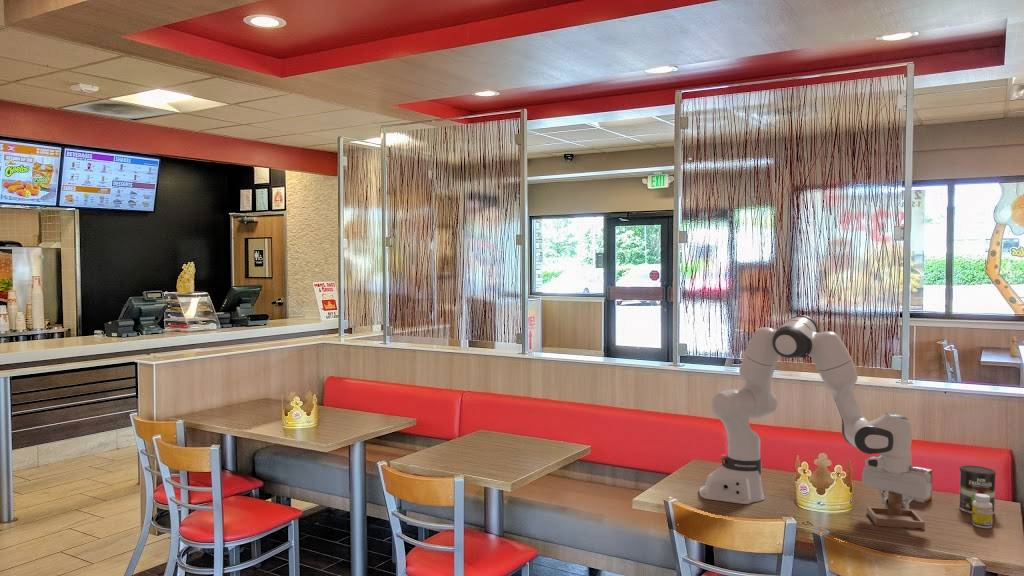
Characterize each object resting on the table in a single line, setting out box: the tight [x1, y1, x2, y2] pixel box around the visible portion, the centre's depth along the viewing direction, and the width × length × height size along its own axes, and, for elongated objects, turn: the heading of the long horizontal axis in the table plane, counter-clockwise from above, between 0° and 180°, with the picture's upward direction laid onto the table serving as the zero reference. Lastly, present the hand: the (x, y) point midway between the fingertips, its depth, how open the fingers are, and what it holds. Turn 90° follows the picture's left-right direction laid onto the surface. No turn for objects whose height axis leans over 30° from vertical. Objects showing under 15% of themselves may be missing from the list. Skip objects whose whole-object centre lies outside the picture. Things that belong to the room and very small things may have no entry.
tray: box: [866, 506, 926, 530], centre depth 236 cm, size 14×12×2 cm
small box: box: [911, 466, 933, 504], centre depth 259 cm, size 8×6×10 cm
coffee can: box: [958, 465, 997, 516], centre depth 247 cm, size 10×10×14 cm
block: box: [887, 491, 903, 516], centre depth 236 cm, size 4×4×7 cm
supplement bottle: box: [971, 494, 993, 529], centre depth 232 cm, size 5×5×10 cm
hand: (895, 505), depth 236 cm, fingers closed on block, 5 cm apart
